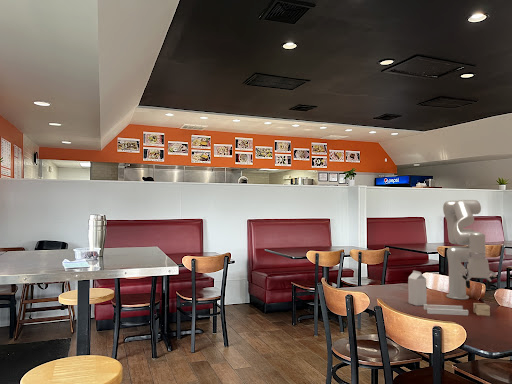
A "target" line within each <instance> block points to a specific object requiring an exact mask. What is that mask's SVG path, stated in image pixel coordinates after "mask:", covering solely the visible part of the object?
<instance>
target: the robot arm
mask: <svg viewBox="0 0 512 384" xmlns="http://www.w3.org/2000/svg"><path fill="white" fill-rule="evenodd" d="M442 210H443V215H444V219H445V220H446V224H447V225H446V226H447V237H448V241H449V243H450V244H453V246H450V247H448V248H447V250H446V256H447V262H448V264H447V265H448V293H447V294H446V298H449V299H452V300H468V299H469V298H470V296H469V295H467V289H469V290H470V289H471V281H470V280H471V279H486V281H485V288H486V289H487V290H490V289H491V287H492V286H491V284H492V283H491V282H492V281H493V280H494V279H495V276H496V275H497V273H496V272H494V271H492V270H490V265H489V261H488V260H489V259H487V258H486V257H487V255H486V234H484V233H483V232H481V231H475V230H473V229H471V228H466V227H469V226H471V225H472V224H474V222H475V217H474V215H479V214H480V213H481V211H482V206H481V203H480V201H478V200H477V199H458V200H448V201H445V202H444V203H443V206H442ZM456 245H457V246H456ZM463 263H467V264H466V267H465V266H464V265H463ZM490 274H491V275H490Z"/></svg>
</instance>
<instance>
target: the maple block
mask: <svg viewBox="0 0 512 384" xmlns="http://www.w3.org/2000/svg"><path fill="white" fill-rule="evenodd" d="M473 313H474V314H475V313H476V314H475V315H477V316H489V317H490V316H491V307H490V305H488V304H487V303H486V302H485V303H484V302H483V303H481V302H480V303H479V302H473Z"/></svg>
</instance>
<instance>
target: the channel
mask: <svg viewBox="0 0 512 384" xmlns="http://www.w3.org/2000/svg"><path fill="white" fill-rule="evenodd" d="M423 310H427V311H426V312H427V313H426V314H428V315H448V316H449V315H450V316H469V309H464V306H463V305H451V304H449V305H448V304H447V305H445V304H444V305H443V304H427V305H426V304H424V305H423Z"/></svg>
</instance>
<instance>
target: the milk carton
mask: <svg viewBox="0 0 512 384" xmlns="http://www.w3.org/2000/svg"><path fill="white" fill-rule="evenodd" d="M407 280H408V281H407V285H408V287H407V288H408V304H410V305H414V306H424V304H426V305H428V303H427V298H428V296H427V294H428V293H427V278H426V277H425V276H424V274H422V271H418V270H415V269H414V270H412V273H411V274H410V275H409V276H408V279H407Z"/></svg>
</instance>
